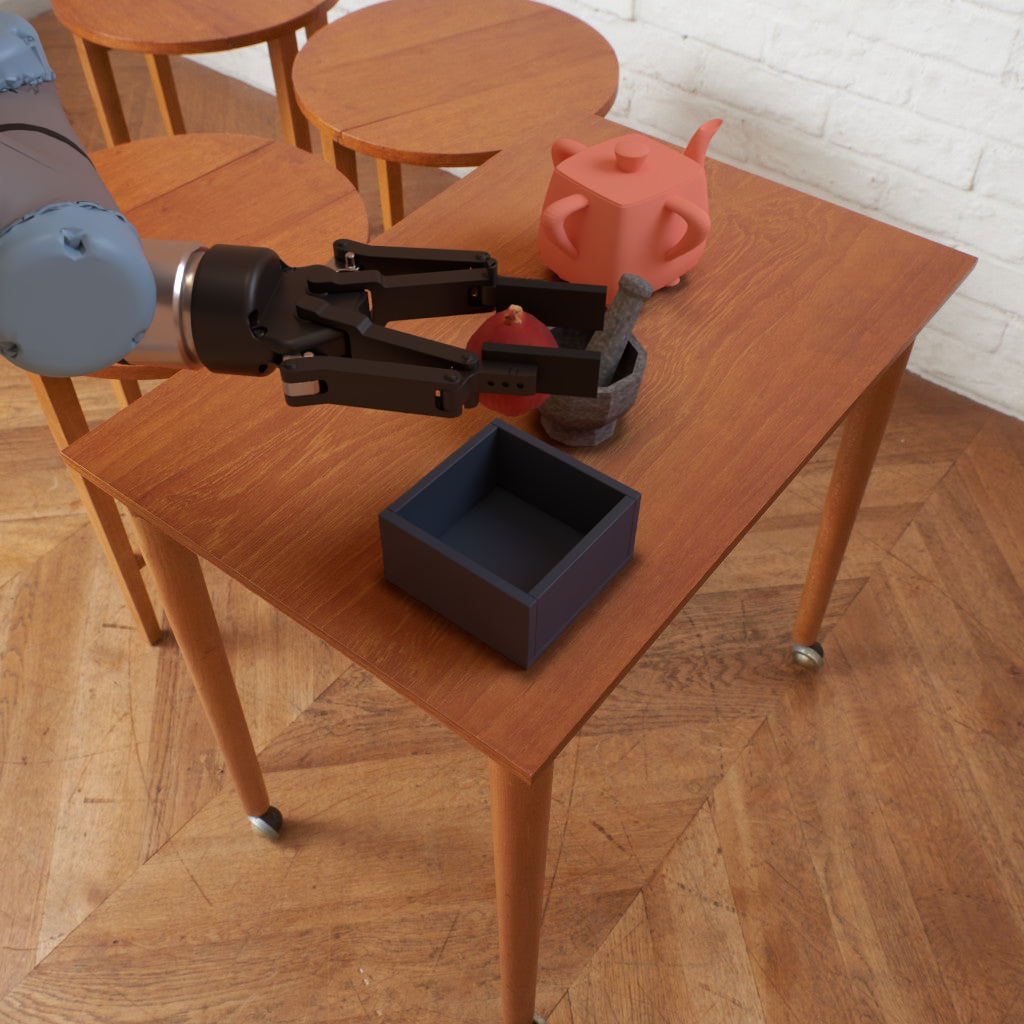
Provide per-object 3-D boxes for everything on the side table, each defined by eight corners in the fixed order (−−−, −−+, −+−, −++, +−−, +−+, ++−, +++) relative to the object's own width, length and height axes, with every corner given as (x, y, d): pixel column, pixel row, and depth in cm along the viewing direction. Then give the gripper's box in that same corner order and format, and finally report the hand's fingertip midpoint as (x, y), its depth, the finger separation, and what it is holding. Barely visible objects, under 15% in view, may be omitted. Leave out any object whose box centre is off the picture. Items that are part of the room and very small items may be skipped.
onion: (453, 392, 66) (450, 284, 60) (540, 375, 67) (544, 268, 62) (479, 452, 62) (478, 342, 56) (571, 433, 63) (578, 324, 58)
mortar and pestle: (571, 479, 81) (581, 354, 72) (496, 416, 86) (496, 293, 77) (674, 419, 86) (694, 296, 78) (596, 363, 91) (608, 242, 82)
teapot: (536, 321, 95) (542, 189, 86) (537, 229, 106) (542, 102, 97) (720, 327, 95) (746, 195, 86) (702, 233, 106) (724, 107, 97)
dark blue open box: (526, 670, 69) (529, 607, 64) (384, 579, 74) (377, 514, 69) (632, 558, 76) (642, 493, 71) (496, 481, 81) (496, 416, 76)
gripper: (263, 274, 71) (606, 301, 69) (168, 462, 58) (587, 501, 56) (244, 171, 65) (615, 198, 64) (135, 354, 53) (597, 393, 51)
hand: (601, 340), depth 60 cm, fingers closed on onion, 6 cm apart
